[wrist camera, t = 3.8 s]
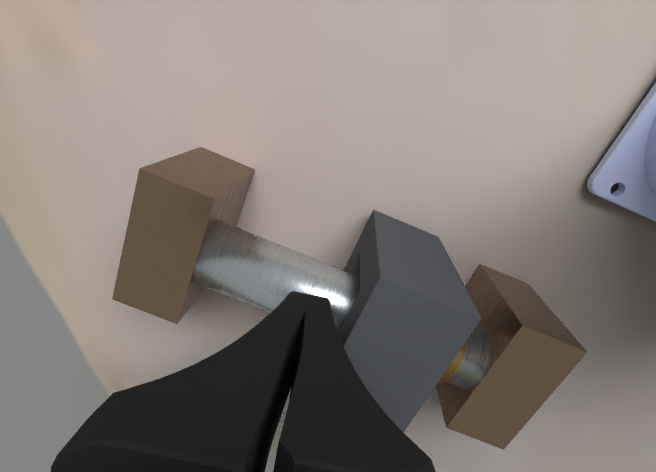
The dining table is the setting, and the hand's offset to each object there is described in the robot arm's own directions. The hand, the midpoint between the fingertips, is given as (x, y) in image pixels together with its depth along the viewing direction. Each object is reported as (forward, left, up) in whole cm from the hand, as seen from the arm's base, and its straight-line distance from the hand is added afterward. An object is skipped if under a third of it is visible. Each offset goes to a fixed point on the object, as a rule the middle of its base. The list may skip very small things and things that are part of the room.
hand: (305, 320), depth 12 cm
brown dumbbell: (-1, 0, -5) cm, 5 cm away
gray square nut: (-3, 0, -5) cm, 6 cm away
